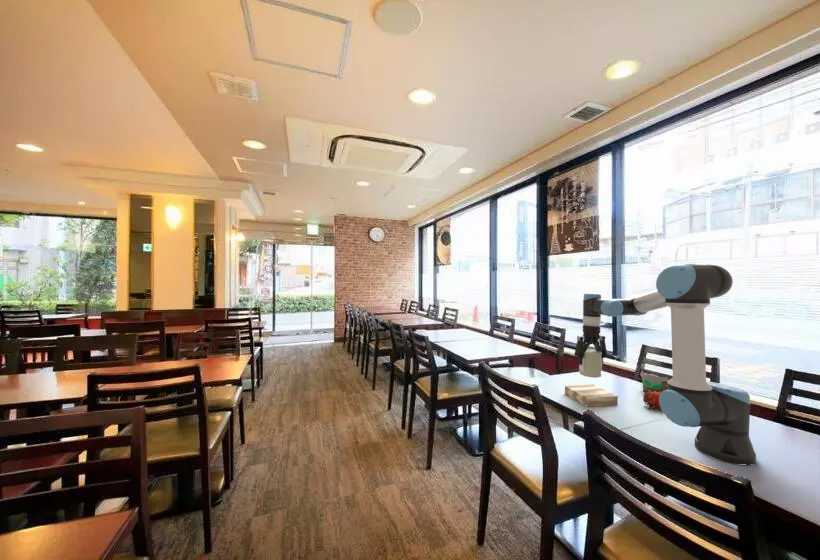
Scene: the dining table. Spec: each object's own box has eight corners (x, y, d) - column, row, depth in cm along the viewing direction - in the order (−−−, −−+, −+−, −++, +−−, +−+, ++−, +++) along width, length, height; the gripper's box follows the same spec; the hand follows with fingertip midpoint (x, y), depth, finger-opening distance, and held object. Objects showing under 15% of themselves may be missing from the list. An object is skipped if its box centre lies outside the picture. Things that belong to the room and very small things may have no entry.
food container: (634, 390, 170) (635, 371, 170) (641, 389, 173) (642, 370, 173) (661, 399, 159) (661, 378, 159) (668, 397, 162) (668, 377, 161)
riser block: (617, 404, 152) (617, 395, 152) (587, 406, 149) (587, 398, 149) (592, 392, 168) (592, 384, 168) (564, 393, 165) (565, 386, 165)
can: (595, 371, 163) (596, 348, 162) (604, 378, 154) (605, 352, 153) (576, 371, 164) (577, 347, 163) (584, 377, 154) (585, 352, 154)
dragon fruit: (639, 409, 150) (666, 414, 149) (651, 405, 143) (680, 410, 142) (635, 391, 155) (661, 395, 154) (647, 386, 148) (674, 390, 147)
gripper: (605, 323, 163) (603, 367, 164) (566, 323, 160) (565, 369, 160) (617, 325, 156) (615, 372, 157) (576, 326, 152) (575, 374, 153)
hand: (590, 370), depth 158 cm, fingers closed on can, 9 cm apart
